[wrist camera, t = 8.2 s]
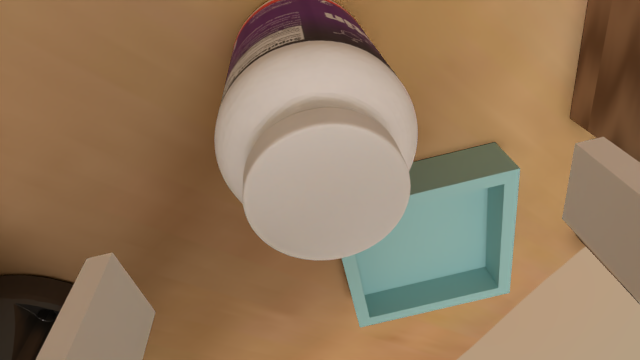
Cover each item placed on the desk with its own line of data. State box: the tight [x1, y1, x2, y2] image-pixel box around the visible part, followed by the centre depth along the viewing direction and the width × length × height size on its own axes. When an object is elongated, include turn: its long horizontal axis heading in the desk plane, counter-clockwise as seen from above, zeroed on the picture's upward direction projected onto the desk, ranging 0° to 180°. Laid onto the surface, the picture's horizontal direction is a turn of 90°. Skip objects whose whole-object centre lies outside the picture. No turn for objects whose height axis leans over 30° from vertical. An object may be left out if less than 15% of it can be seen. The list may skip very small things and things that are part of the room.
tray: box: [342, 142, 520, 327], centre depth 33 cm, size 13×13×4 cm
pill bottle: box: [214, 0, 418, 260], centre depth 19 cm, size 8×8×14 cm
